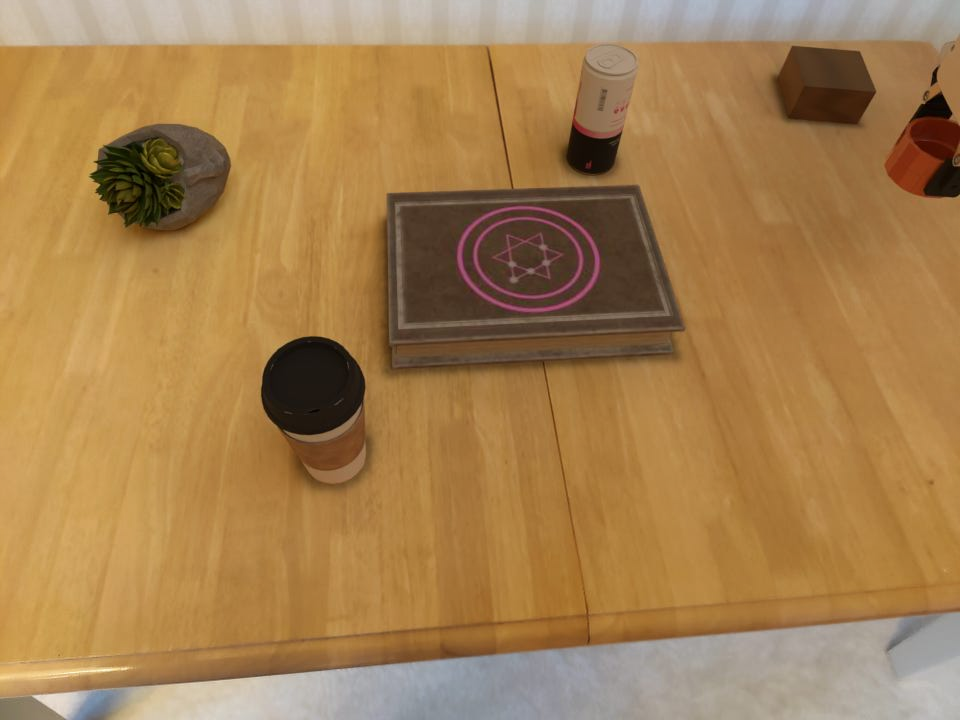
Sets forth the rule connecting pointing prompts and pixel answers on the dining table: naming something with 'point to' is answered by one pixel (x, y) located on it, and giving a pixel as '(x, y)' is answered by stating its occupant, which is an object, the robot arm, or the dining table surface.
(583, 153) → the beverage can
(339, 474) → the coffee cup
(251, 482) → the dining table surface
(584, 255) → the book
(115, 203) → the potted plant
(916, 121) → the bowl
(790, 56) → the stand
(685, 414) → the dining table surface
